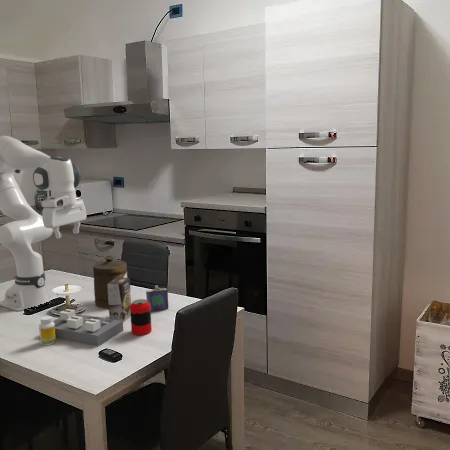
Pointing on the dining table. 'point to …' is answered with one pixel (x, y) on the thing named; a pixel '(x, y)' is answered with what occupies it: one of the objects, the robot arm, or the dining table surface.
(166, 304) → the flask
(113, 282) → the coffee box
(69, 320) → the slider
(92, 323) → the slider
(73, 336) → the switch panel
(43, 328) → the supplement bottle
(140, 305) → the soda can
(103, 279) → the wooden container
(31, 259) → the robot arm
